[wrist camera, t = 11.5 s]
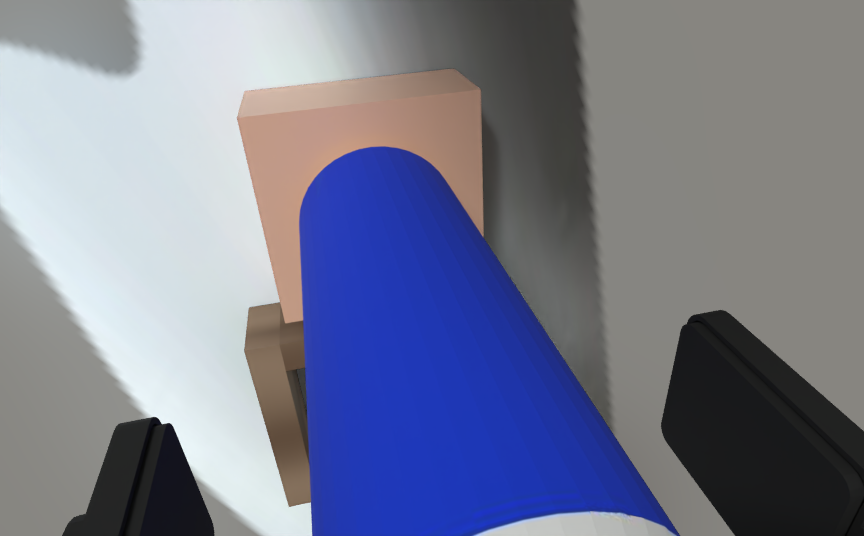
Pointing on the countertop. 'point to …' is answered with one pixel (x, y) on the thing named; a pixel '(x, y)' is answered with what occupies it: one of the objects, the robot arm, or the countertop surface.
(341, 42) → the countertop surface
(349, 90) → the stand
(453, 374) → the beverage can
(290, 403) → the block
